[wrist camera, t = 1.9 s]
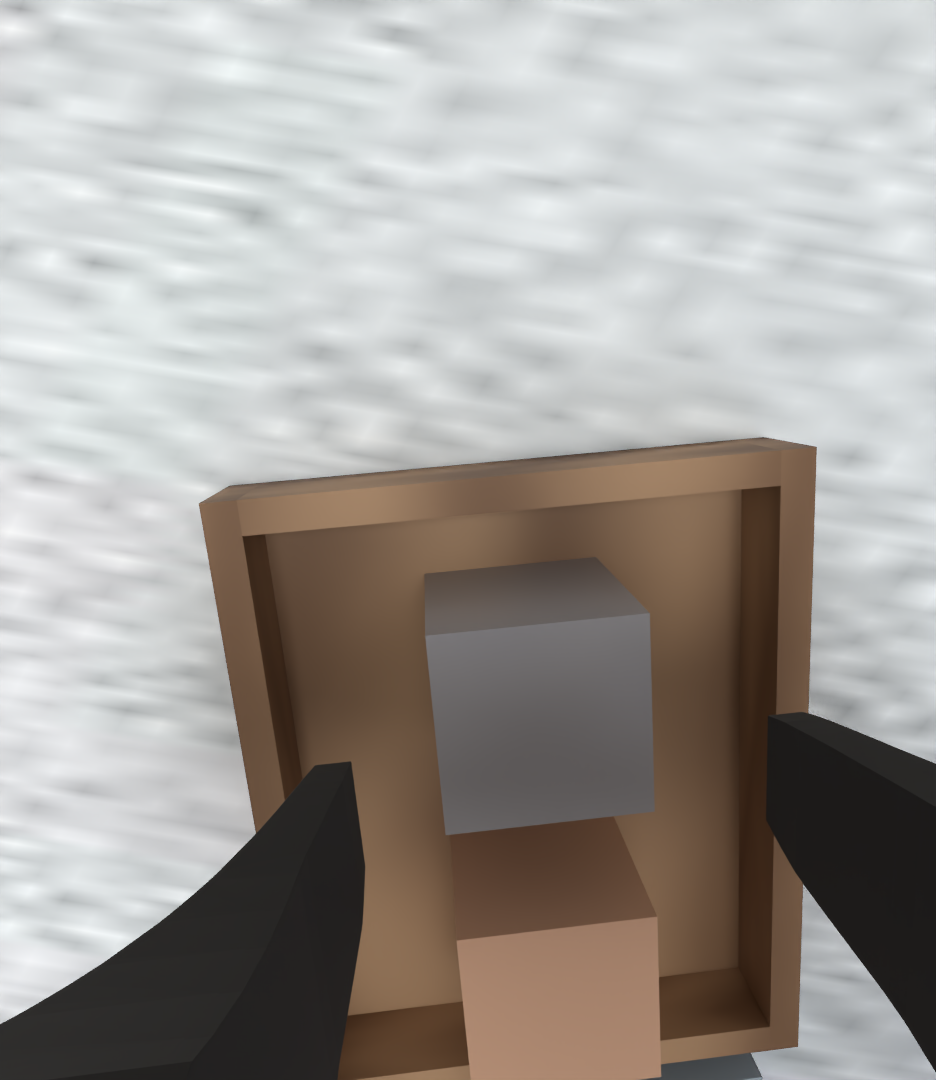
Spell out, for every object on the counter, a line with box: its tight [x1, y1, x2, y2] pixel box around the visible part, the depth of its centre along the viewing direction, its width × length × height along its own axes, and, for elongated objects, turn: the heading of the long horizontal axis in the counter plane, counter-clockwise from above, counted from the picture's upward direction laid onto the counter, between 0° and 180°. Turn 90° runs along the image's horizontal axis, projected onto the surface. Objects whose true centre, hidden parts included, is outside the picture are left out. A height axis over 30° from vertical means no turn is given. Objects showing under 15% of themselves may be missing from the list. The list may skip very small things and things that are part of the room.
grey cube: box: [424, 557, 655, 835], centre depth 16 cm, size 4×4×4 cm
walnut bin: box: [199, 437, 817, 1080], centre depth 19 cm, size 14×17×2 cm
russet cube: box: [450, 816, 661, 1080], centre depth 18 cm, size 4×4×4 cm
